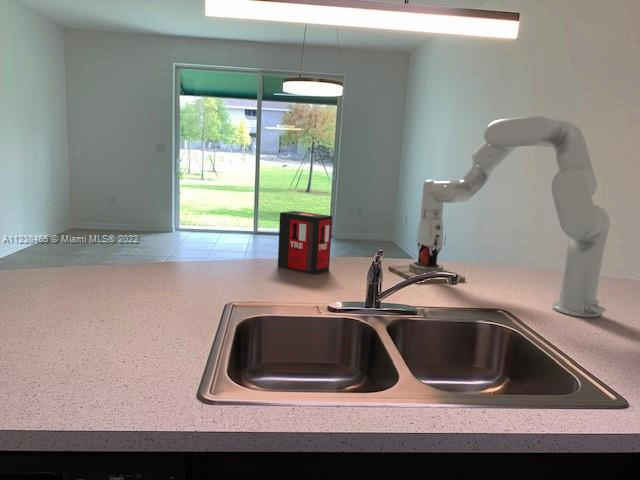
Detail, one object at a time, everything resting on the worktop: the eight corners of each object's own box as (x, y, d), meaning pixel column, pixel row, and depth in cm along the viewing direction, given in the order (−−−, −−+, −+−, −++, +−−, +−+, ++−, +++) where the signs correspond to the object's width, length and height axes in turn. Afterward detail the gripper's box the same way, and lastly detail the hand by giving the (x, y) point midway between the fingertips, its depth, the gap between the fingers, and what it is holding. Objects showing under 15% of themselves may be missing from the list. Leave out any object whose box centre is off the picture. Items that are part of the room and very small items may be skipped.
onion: (415, 265, 184) (417, 243, 183) (428, 264, 186) (430, 243, 185) (425, 268, 179) (427, 246, 178) (438, 268, 181) (440, 246, 180)
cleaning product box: (277, 267, 183) (280, 212, 180) (291, 263, 191) (294, 210, 187) (315, 274, 175) (319, 217, 171) (328, 270, 182) (332, 215, 179)
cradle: (464, 281, 178) (466, 270, 177) (415, 283, 171) (416, 272, 170) (433, 268, 196) (434, 258, 195) (388, 269, 189) (389, 259, 188)
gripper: (454, 217, 173) (449, 269, 176) (427, 211, 189) (423, 258, 192) (435, 217, 170) (430, 269, 173) (410, 211, 186) (406, 259, 189)
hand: (427, 263), depth 182 cm, fingers closed on onion, 5 cm apart
